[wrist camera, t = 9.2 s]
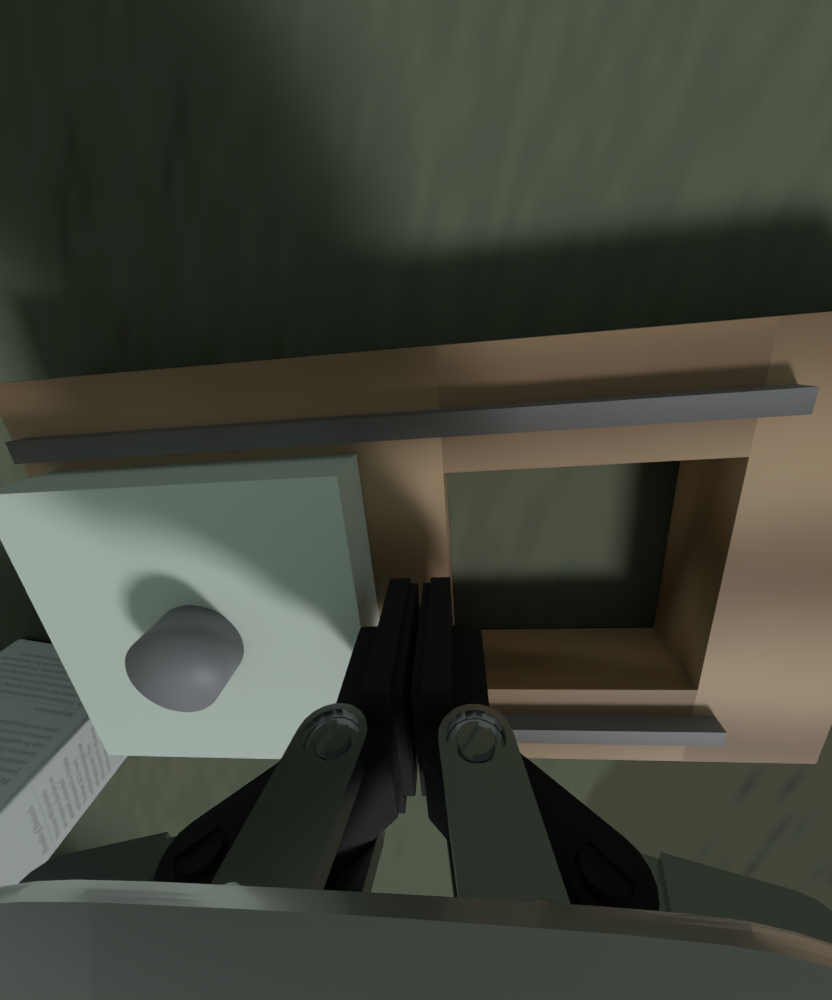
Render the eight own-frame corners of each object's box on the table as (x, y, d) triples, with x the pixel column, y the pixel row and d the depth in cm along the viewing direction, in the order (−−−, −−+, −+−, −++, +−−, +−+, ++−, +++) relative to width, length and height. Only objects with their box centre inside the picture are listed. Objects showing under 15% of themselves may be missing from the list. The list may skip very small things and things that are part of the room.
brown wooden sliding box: (753, 691, 16) (831, 782, 13) (194, 689, 19) (139, 764, 15) (863, 308, 11) (1037, 294, 8) (81, 375, 14) (-39, 386, 10)
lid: (391, 705, 14) (374, 803, 11) (150, 703, 15) (76, 793, 12) (356, 452, 11) (320, 495, 8) (53, 471, 12) (-82, 514, 9)
